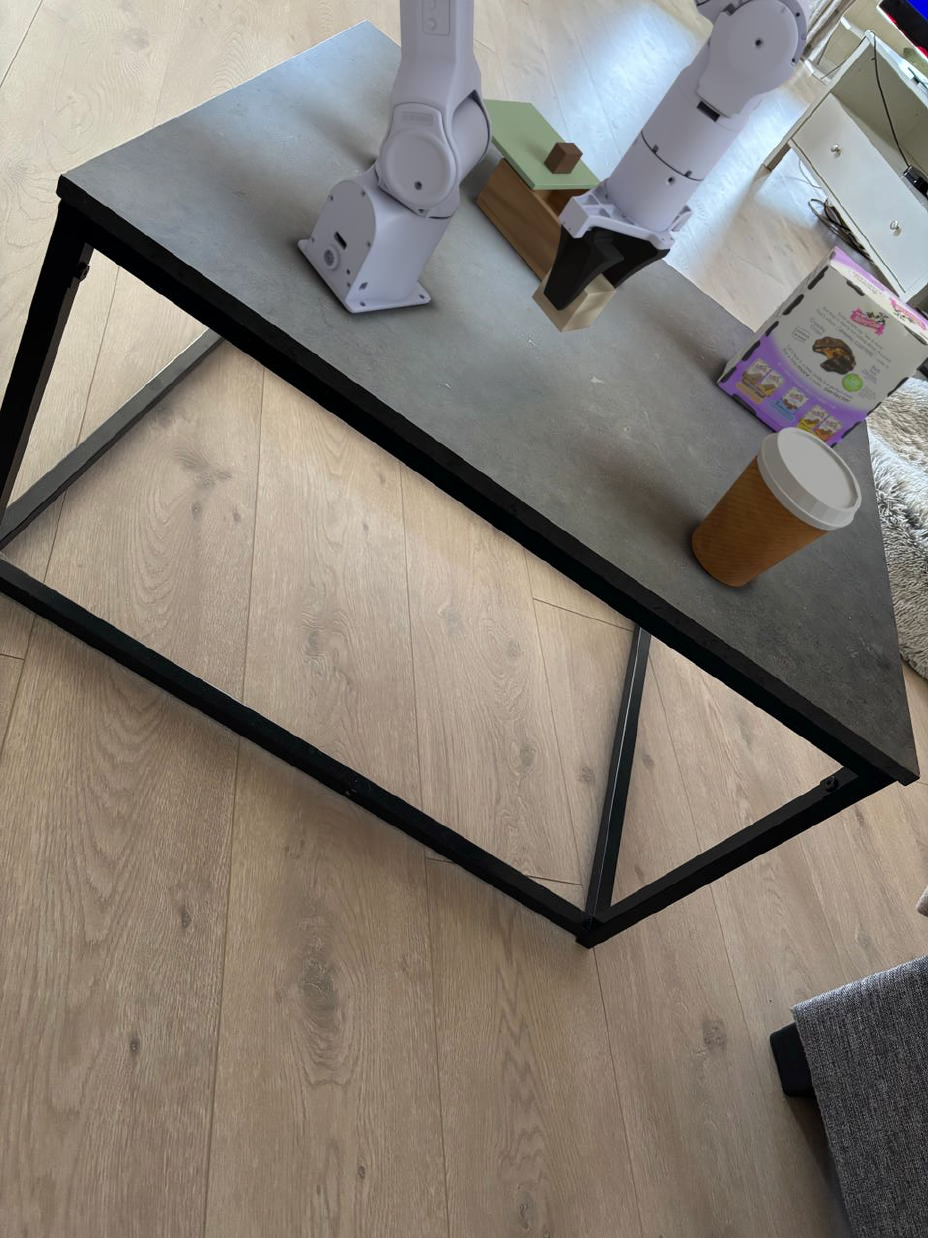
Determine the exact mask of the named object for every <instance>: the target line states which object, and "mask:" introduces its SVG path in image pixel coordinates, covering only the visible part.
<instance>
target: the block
mask: <svg viewBox="0 0 928 1238" xmlns="http://www.w3.org/2000/svg"><path fill="white" fill-rule="evenodd" d="M552 267H553V266H552ZM551 269H552V268H551ZM551 269H550V271H549V272H548V274H547V275H546V277H545V278H544V279H543V281H542V280H541V282H540V284H539V285H538V287H537V288H536V289H535V292H534V293H532V295H531V299H532V300H533V301H534V302H535V304H536V305H537V306H538V307H539V308H540V310H541V311H542V312H543V313H544V314H545V316H546V317H547V318H548V320H549V321H550V322H551V323H552V324H553V325H554V326H555V328H556V329H557V330H558V331H559V333H566V332H571V331H579V330H583V329H589V328H590V327H591V326H592V324H593V323H594V321H595V320H596V319H597V318H598V316H599V315H600V314H601V312H602V311H603V310H604V309H605V307H606V306H607V305H608V303H609V302H610V300H611V299H612V298H613V296H614V295H615V294H616V293H617V290H616V289H615V288H614V287H613V286H612V285H611V284H610V283H609V281H608V280H607V279H606V278H605V277H604V276H603V274H602V273H601V274H600V275H598V276H597V277H596V278H595V279H594V280H593V281H592V282H591V283H590V284H589V285H588V286H587V287H586V288H585V289H584V290H583V291H582V292H581V293H580V295H579V296H578V297H577V298H576V299H575V300H574V301H573V302H572V303H571V304H569V305H568V306H567V307H566V308H564V309H563V310H559V311H558V310H556V308H555V307H554V306H553V305H552V303H551V302H550V301H549V300H548V299H547V297H546V296H545V295H544V294H543V292H544V289H545V286H546V283H547V280H548V278H549V275H550V272H551Z"/></svg>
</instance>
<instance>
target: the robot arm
mask: <svg viewBox="0 0 928 1238" xmlns="http://www.w3.org/2000/svg"><path fill="white" fill-rule="evenodd" d="M692 1H693V4H694V5H695V7H696V10H697V12H698V13H699V14H700V15H701V16H702V17H704V18H706V19H707V20H708V21H709V23H711V24H712V29H711V33H710V35H709V37H708V38H707V39H706V41H705V42H704V44H703V45H702V47H701V48H700V49H699V51H698V53H697V54H696V56H695V57H694V58H693V60H692V61H691V63H690V64H689V65H687V66H685V67H684V68H683V69H682V70H680V72H679V73H678V74H677V77H676V79H674V81H673V83H672V84H671V86H670V87H669V88H668V90H667V91H666V93H664V95H663V97H662V99H661V100H660V101H659V103H658V105H657V106H656V107H655V109H654V111H653V112H652V113H651V115H650V116H649V118H648V119H647V120H646V122H645V124H643V127H642V128H641V129H640V131H639V133H638V134H637V136H636V137H635V138H634V140H633V141H632V143H631V145H630V146H629V147H628V149H627V150H626V152H625V153H624V155H623V156H622V158H621V159H620V161H619V162H618V163H617V165H616V167H615V168H614V169H613V171H612V172H611V174H610V175H609V177H606V178H604V179H603V180H601V182H600V183H599V184H597V185H596V186H595V187H593V188H592V189H590V190H589V191H588V192H586V193H585V194H583V195H581V196H575V197H571V199H570V200H569V202H568V203H567V205H566V206H565V208H564V210H563V211H562V213H561V214H560V216H559V217H558V220H559V221H560V222H561V233H560V240H559V246H558V250H557V254H556V257H555V261H554V264H553V267H552V269H551V272H550V275H549V278H548V280H547V283H546V286H545V289H544V292H543V294H544V295H545V296H546V297H547V299H548V300H549V301H550V302H551V303H552V305H553V306H554V307H555V308H556V310H558V311H559V310H563V309H564V308H566V307H567V306H568V305H569V304H571V303H572V302H573V301H574V300H575V299H576V298H577V297H578V296H579V295H580V293H581V292H582V291H583V290H584V289H585V288H586V287H587V286H588V285H589V284H590V283H591V282H592V281H593V280H594V279H595V278H596V277H597V276H598V275H600V274H601V273H602V274H603V276H604V277H605V278H606V279H607V280H608V281H609V283H610V284H611V285H612V286H613V287H614V288H615V290H616V289H617V288H619V287H620V286H621V285H622V284H623V283H624V282H626V281H628V279H630V278H631V277H632V276H633V275H635V274H636V273H638V272H639V271H641V270H643V269H644V268H646V267H648V266H650V265H652V264H654V263H655V262H657V261H660V260H662V259H665V258H666V257H667V256H668V254H669V253H670V251H671V248H672V247H673V246H674V244H675V243H676V240H675V238H674V237H673V235H671V232H672V233H676V232H680V231H681V230H682V229H683V227H684V226H685V224H687V222H688V221H689V220H690V218H691V217H692V216H693V215H694V211H693V209H692V208H691V207H690V206H689V205H688V204H687V203H688V202H689V200H691V198H692V196H693V195H694V194H695V193H696V191H697V190H698V189H699V187H700V186H701V185H702V183H704V181H705V179H706V178H707V177H708V175H709V174H710V173H711V172H712V171H713V169H714V168H715V167H716V165H717V163H719V161H720V160H721V158H722V157H723V156H724V154H725V153H726V152H727V150H728V149H729V148H730V146H731V145H732V144H733V142H734V141H735V140H736V138H738V136H739V134H740V133H741V132H742V131H743V129H744V128H745V127H746V126H747V124H748V122H749V117H750V115H751V114H752V113H753V112H754V111H755V110H757V108H758V107H759V106H761V104H762V102H763V101H764V99H765V98H766V95H767V93H769V92H772V91H774V90H776V89H778V88H780V87H781V86H783V85H784V84H785V83H786V82H788V81H789V80H790V79H791V78H792V77H793V76H794V75H795V73H796V66H797V64H798V63H799V61H800V60H801V58H802V56H803V54H804V50H805V47H806V44H807V38H808V31H809V25H810V17H811V12H810V11H811V10H810V4H809V3H810V2H809V0H692ZM474 11H475V0H399V23H400V56H401V57H400V63H399V66H398V69H397V72H396V75H395V78H394V82H393V85H392V88H391V92H390V95H389V99H388V117H389V118H388V125H387V128H386V132H385V134H384V136H383V137H382V138H383V139H382V140H381V143H380V146H379V152H378V156H377V157H376V160H375V162H374V163H373V164H372V165H371V166H370V167H369V168H368V169H367V170H366V171H364V172H363V173H361V174H360V175H357V176H354V177H350V178H347V179H343V180H341V181H339V182H338V183H336V184H335V185H334V186H333V187H332V188H331V190H330V191H329V193H328V195H327V198H326V199H325V202H324V204H323V207H322V209H321V211H320V213H319V216H318V217H317V220H316V223H315V225H314V227H313V229H312V232H311V233H310V236H309V238H306V239H300V240H299V241H298V243H297V247H298V249H299V250H300V251H301V252H302V253H303V255H304V256H305V258H306V259H307V260H308V261H309V263H310V264H311V265H312V266H313V268H314V269H315V271H316V272H317V273H318V274H319V276H320V277H321V278H322V280H324V282H325V283H326V284H327V286H328V287H329V288H330V289H331V291H332V293H334V295H335V296H336V297H337V299H338V300H339V301H340V303H342V305H343V306H344V307H345V309H346V310H347V311H348V312H350V313H352V314H357V313H365V312H372V311H380V310H387V309H394V308H395V309H396V308H401V307H402V308H403V307H410V306H416V305H424V304H429V302H430V301H431V296H430V294H429V293H428V292H427V291H426V289H425V288H424V287H423V285H421V283H420V282H419V281H418V280H419V279H420V277H421V275H422V273H423V271H424V269H425V268H426V266H427V264H428V262H429V261H430V259H431V257H432V256H433V253H434V252H435V251H436V248H437V247H438V245H439V243H440V241H441V240H442V237H443V236H444V234H445V232H446V231H447V229H448V227H449V225H450V223H451V221H452V219H453V218H454V216H455V214H456V213H457V211H458V210H459V207H460V204H461V203H460V202H461V196H460V184H461V183H462V182H463V180H464V179H465V178H466V177H467V176H468V174H469V173H470V172H471V171H472V170H473V168H475V167H476V166H477V165H479V164H480V163H481V162H482V161H483V160H484V158H485V157H486V155H487V154H488V152H489V149H490V148H491V144H492V142H491V139H492V125H491V120H490V116H489V114H488V111H487V109H486V107H485V104H484V101H483V99H484V98H483V92H482V72H481V69H480V66H479V64H478V61H477V59H476V56H475V53H474V23H475V22H474V21H475V20H474V19H475V18H474V14H475V12H474Z"/></svg>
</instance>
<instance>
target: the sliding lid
mask: <svg viewBox="0 0 928 1238" xmlns="http://www.w3.org/2000/svg"><path fill="white" fill-rule="evenodd" d="M483 101H484V104H485V107H486V109H487V111H488V114H489V116H490V120H491V125H492V139H491V144H492V145H493V146H494V147H495V148H496V149H497V151H498V152H499V153H500V154H501V155H502V157H504V158H505V159H506V160H507V161H508V162H509V163H510V164H511V165H512V167H513V168H514V169H515V170H516V171H517V172H518V174H519V175H520V176H521V177H522V178H523V179H524V180H525V182H526V183H527V184H528V185H529V186H530V187H531V189H532V190H552V189H592V188H593V187H595V186H596V185H597V184H599V183H600V182H602V180H600V179H599V178H598V177H597V176H596V174H595V173H593V171H592V170H591V169H590V168H589V167H588V166H587V164H586V163H585V162H584V161H583V160H582V157H583V155H584V153H583V151H582V150H581V149H580V148H579V147H578V146H577V145H576V143H575V142H567V141H565V140H564V138H563V137H562V136H561V135H560V134H559V133H558V132H557V130H555V128H554V127H553V126H552V125H551V124H550V123H549V122H548V121H547V119H546V118H545V117H544V116H543V114H542V113H541V112H540V111H538V109H537V108H536V107H535V106H534V105H533V103H531V102H524V101H512V100H499V99H498V100H497V99H489V98H483Z"/></svg>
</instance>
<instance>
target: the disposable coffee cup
mask: <svg viewBox="0 0 928 1238" xmlns="http://www.w3.org/2000/svg"><path fill="white" fill-rule="evenodd" d="M756 453H757V454H756V455H755V456H754V457H753V459H752V460H751V461H750V463H748V464H747V466H745V468H744V470H742V472H741V473H740V474H739V476H738V477H737V478H736V479H735V481H734V482H733V483H732V485H731V486H730V487H729V488H728V490H726V492H725V493H724V495H722V497H721V498H720V500H719V501H718V502H717V503H716V505H715V506H714V507H713V508H712V510H711V511H710V512H709V513H708V515H706V516H705V517H704V519H703V521H702V522H701V523H700V524H699V526H698V527H697V528H696V529H695V530H694V531H693V533H692V535H691V548H692V551H693V553H694V555H695V557H696V559H697V561H698V562H699V564H700V565H701V566H702V567H703V569H704V570H705V571H706V572H707V573H709V575H711V576H712V577H713V578H714V579H716V581H717V580H718V581H719V582H721V583H722V584H725V585H727V586H730V587H742V586H744V585H746V584H747V583H749V582H750V581H751V580H753V579H755V578H757V577H758V576H760V575H761V574H763V573H765V572H766V571H768V570H770V569H771V568H772V567H774V566H776V565H778V564H779V563H780V562H783V561H784V560H786V559H787V558H789V557H791V556H792V555H794V554H795V553H797V552H798V551H800V550H802V549H803V548H805V547H808V545H810V544H811V543H813V542H815V541H816V540H818V539H820V538H821V537H823V536H824V535H825V534H827V533H829V532H831V531H837V530H838V529H843V528H844V527H847V526H849V524H851V523H852V522H853V520H854V519H855V513H856V512H857V511H858V510H859V508H860V507H861V505H862V499H863V498H862V497H863V496H862V491H861V487H860V485H859V482H858V479H857V478H856V476H855V474H854V473H853V471H852V470H851V468H850V467H849V466H848V465H847V463H846V462H845V460H844V459H843V458H842V457H841V456H840V455H839V454H838V453H837V452H836V451H835V450H834V448H833V449H832V448H831V447H830V446H828V445H827V444H826V443H825V442H823V441H822V440H821V439H819V438H818V437H816V436H814V435H813V434H811V433H809V432H807V431H805V430H802V429H799V428H793V427H789V428H785V429H782V430H781V431H779V432H774V433H770V434H768V435H766V436H764V438H763V440H762V441H761V443H760V446H759V449H758V450H757V452H756Z"/></svg>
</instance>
